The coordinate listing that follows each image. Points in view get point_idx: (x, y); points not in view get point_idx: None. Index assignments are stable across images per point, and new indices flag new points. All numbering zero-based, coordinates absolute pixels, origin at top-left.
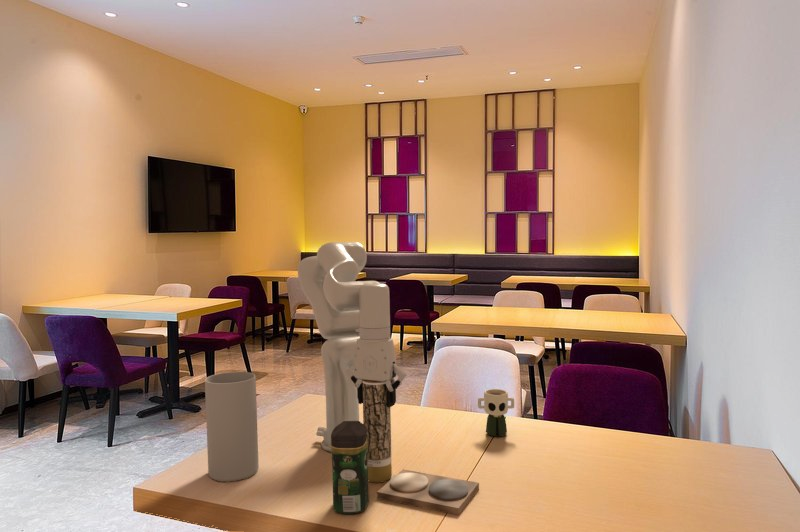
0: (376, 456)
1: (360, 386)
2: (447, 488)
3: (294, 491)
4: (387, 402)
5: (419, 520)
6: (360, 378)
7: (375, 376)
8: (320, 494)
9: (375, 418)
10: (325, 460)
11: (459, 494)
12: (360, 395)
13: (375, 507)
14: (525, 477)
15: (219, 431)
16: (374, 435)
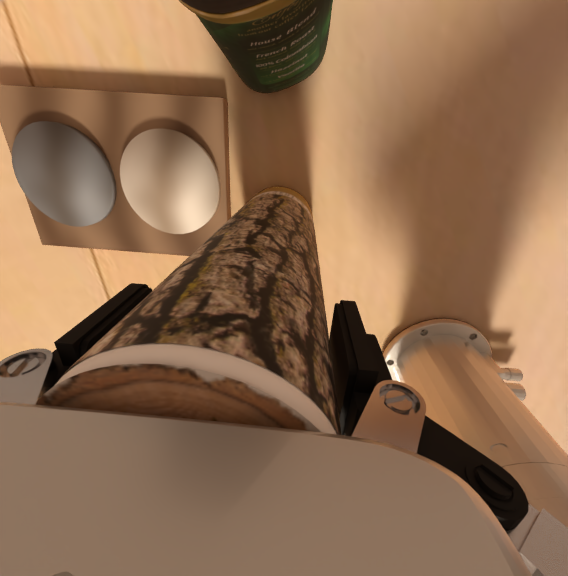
0: (256, 198)
1: (365, 401)
2: (61, 171)
3: (481, 43)
4: (127, 297)
5: (60, 7)
6: (343, 441)
7: (4, 472)
8: (391, 57)
9: (224, 230)
10: (450, 274)
11: (15, 146)
12: (346, 333)
13: (203, 38)
14: (17, 316)
15: None
16: (249, 210)
